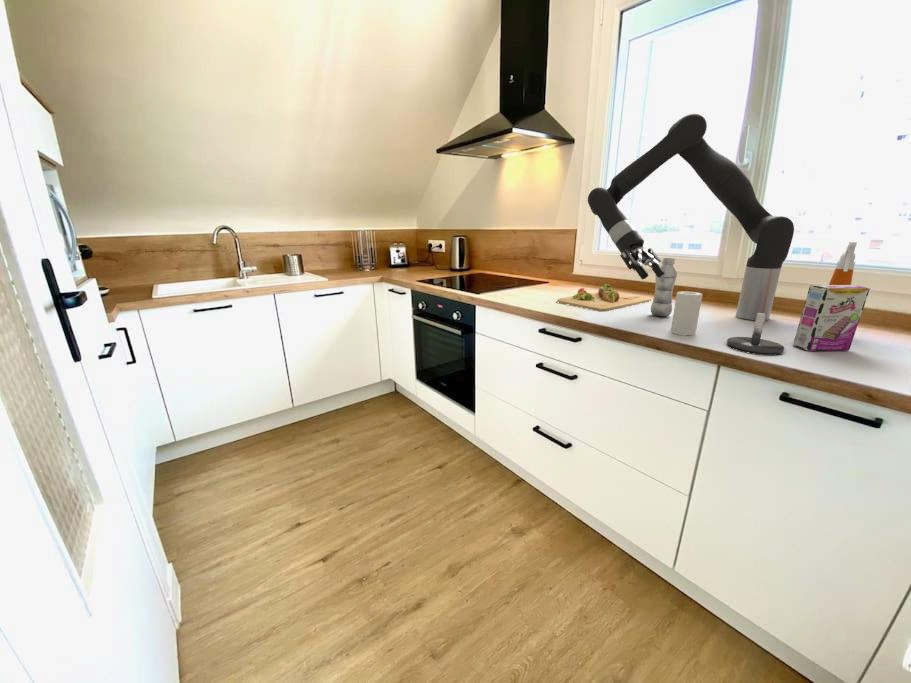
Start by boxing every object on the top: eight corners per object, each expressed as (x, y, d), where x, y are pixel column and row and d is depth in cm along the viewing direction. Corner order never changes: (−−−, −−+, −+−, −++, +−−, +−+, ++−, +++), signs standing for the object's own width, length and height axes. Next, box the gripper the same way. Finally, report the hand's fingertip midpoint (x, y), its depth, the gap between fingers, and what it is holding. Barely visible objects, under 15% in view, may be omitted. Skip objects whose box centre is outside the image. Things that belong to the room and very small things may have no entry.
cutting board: (602, 313, 143) (604, 293, 140) (554, 303, 161) (555, 285, 159) (653, 302, 162) (655, 284, 159) (604, 294, 180) (606, 278, 178)
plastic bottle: (673, 318, 132) (683, 259, 126) (652, 317, 133) (661, 259, 127) (667, 314, 138) (676, 257, 132) (647, 313, 139) (655, 257, 133)
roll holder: (738, 338, 109) (745, 306, 106) (791, 349, 99) (800, 315, 96) (717, 345, 103) (724, 312, 100) (771, 358, 93) (780, 321, 90)
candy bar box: (808, 352, 97) (826, 288, 92) (791, 346, 102) (808, 284, 97) (851, 351, 97) (871, 287, 93) (832, 345, 102) (850, 284, 97)
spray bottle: (809, 336, 110) (835, 242, 102) (810, 328, 118) (834, 240, 110) (843, 341, 106) (873, 242, 98) (842, 333, 113) (869, 241, 105)
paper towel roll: (678, 329, 119) (684, 290, 115) (698, 333, 114) (705, 293, 110) (667, 332, 116) (673, 292, 112) (687, 336, 111) (694, 295, 107)
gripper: (620, 229, 119) (649, 270, 113) (647, 229, 126) (676, 267, 120) (604, 246, 125) (631, 286, 119) (630, 244, 132) (657, 282, 126)
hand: (653, 276), depth 120 cm, fingers open, 8 cm apart
